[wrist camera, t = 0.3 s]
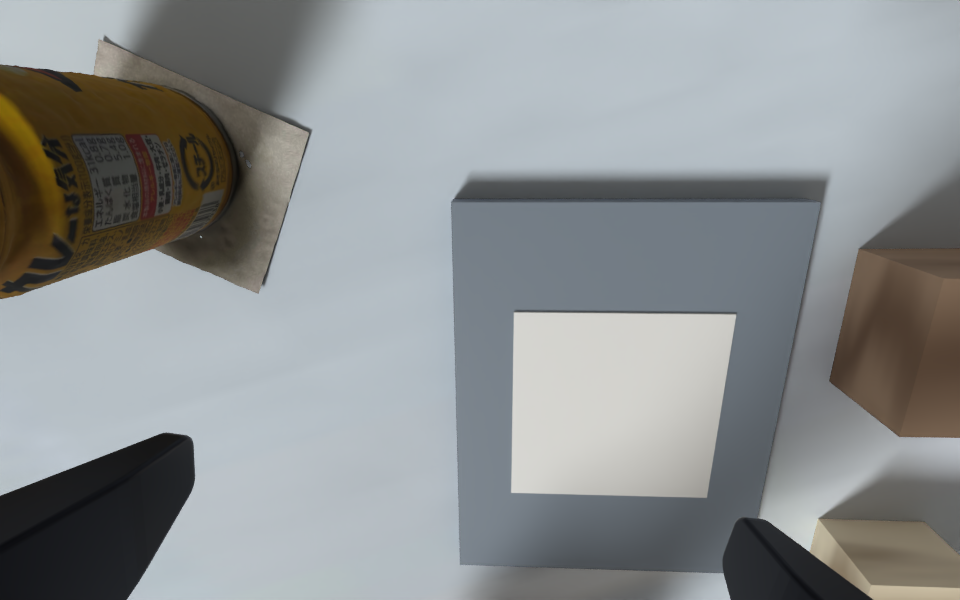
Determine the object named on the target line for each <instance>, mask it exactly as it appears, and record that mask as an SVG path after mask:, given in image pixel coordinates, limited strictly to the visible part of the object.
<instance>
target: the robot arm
mask: <svg viewBox="0 0 960 600" xmlns="http://www.w3.org/2000/svg"><path fill="white" fill-rule="evenodd" d="M194 481H195V466H194V446H193V441H192V439H191V438H190V437H189V436H187V435H181V434H174V433H162V434H159V435H157V436H154V437H151V438H149V439H146V440H144V441H141V442H138V443H136V444H133V445H131V446H128V447H126V448H123V449H120V450H118V451H115V452H113V453H110V454H107V455H105V456H102V457H100V458H97V459H94V460H92V461H89V462H87V463H84V464H82V465H79V466H76V467H74V468H71V469H69V470H66V471H63V472H61V473H58V474H56V475H53V476H50V477H48V478H45V479H43V480H40V481H38V482H35V483H32V484H30V485H27V486H25V487H22V488H19V489H17V490H14V491H12V492H9V493H7V494H4V495H1V496H0V600H127V598H128V597H129V595H130V594H131V593H132V591H133V590H134V588H135V587H136V585H137V584H138V582H139V581H140V579H141V578H142V576H143V574H144V573H145V571H146V569H147V568H148V566H149V564H150V563H151V561H152V559H153V557H154V556H155V554H156V552H157V551H158V549H159V547H160V545H161V544H162V542H163V540H164V538H165V537H166V535H167V533H168V532H169V530H170V528H171V526H172V525H173V523H174V521H175V519H176V518H177V516H178V514H179V513H180V511H181V509H182V507H183V506H184V504H185V502H186V500H187V499H188V497H189V495H190V493H191V491H192V489H193V486H194ZM722 566H723V573H724V576H725V580H726V584H727V588H728V591H729V595H730V599H731V600H873V599H872V598H871V597H869V596H868V595H867V594H865V593H864V592H863V591H861V590H860V589H858V588H857V587H856V586H854V585H853V584H852V583H850V582H849V581H848V580H846V579H845V578H844V577H842V576H841V575H840V574H838V573H837V572H836V571H834V570H833V569H831V568H830V567H829V566H827V565H826V564H825V563H823V562H822V561H821V560H819V559H818V558H817V557H815V556H814V555H813V554H811V553H810V552H809V551H807V550H806V549H805V548H803V547H802V546H800V545H799V544H798V543H796V542H795V541H794V540H792V539H791V538H790V537H788V536H787V535H786V534H784V533H783V532H782V531H780V530H779V529H778V528H776V527H775V526H773V525H772V524H771V523H769V522H768V521H766V520H763V519H757V518H750V517H740V518H738V519H737V520H736V522H735V524H734V526H733V529H732V532H731V535H730V537H729V540H728V543H727V545H726V548H725V551H724V554H723V559H722Z"/></svg>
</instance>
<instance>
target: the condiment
mask: <svg viewBox="0 0 960 600" xmlns="http://www.w3.org/2000/svg"><path fill="white" fill-rule="evenodd" d="M308 136H309V132H306V131H304V130H302V129H300V128H298V127H295V126H293V125H290V124H288V123H286V122H284V121H282V120H280V119H277V118H275V117H273V116H271V115H268V114H266V113H263V112H261V111H259V110H257V109H255V108H252V107H250V106H248V105H246V104H244V103H241V102H239V101H236V100H234V99H232V98H230V97H228V96H226V95H223V94H221V93H219V92H217V91H215V90H212V89H210V88H208V87H206V86H204V85H202V84H199V83H197V82H195V81H193V80H191V79H188V78H186V77H184V76H181V75H179V74H177V73H175V72H172V71H170V70H168V69H166V68H163V67H161V66H159V65H157V64H155V63H152V62H150V61H148V60H146V59H143V58H141V57H139V56H136V55H134V54H132V53H130V52H128V51H125V50H123V49H121V48H119V47H116V46H114V45H112V44H109V43H107V42H104V41H102V40H100V39H99V41H98V51H97V54H96V61H95V67H94V75H88V74H82V73H73V72H57V71H53V70H49V69H34V68H28V67H19V66H16V65H15V66H9V65H0V299H4V298H9V297H14V296H19V295H22V294H24V293H26V292H29V291H32V290H34V289H38V288H41V287H43V286H46V285H50V284H52V283H55V282H58V281H61V280H63V279H66V278H69V277H72V276H75V275H78V274H81V273H84V272H87V271H90V270H93V269H96V268H99V267H101V266H104V265H107V264H110V263H113V262H116V261H119V260H122V259H125V258H128V257H130V256H133V255H136V254H139V253H142V252H145V251H148V250H151V249H156V250H158V251H160V252H162V253H164V254H166V255H168V256H172V257H173V258H175V259H177V260H179V261H181V262H183V263H186V264H189V265H192V266H195V267H197V268H199V269H201V270H203V271H207V272H209V273H212V274H214V275H216V276H219V277H221V278H224V279H225V280H227V281H229V282H232V283H234V284H235V285H238V286H240V287H243V288H246V289H248V290H251V291H253V292H256V293H259V290H260V288H261V285H262V282H263V278H264V276H265V274H266V271H267V268H268V264H269V261H270V258H271V255H272V252H273V249H274V245H275V243H276V240H277V237H278V234H279V230H280V228H281V224H282V221H283V218H284V214H285V211H286V208H287V206H288V203H289V201H290V195H291V191H292V188H293V185H294V181H295V178H296V175H297V173H298V170H299V166H300V163H301V159H302V155H303V152H304V149H305V145H306V142H307V139H308ZM240 151H242V152H243V153H244V157H241V156H240V153H239V152H240ZM245 160H248V161H249V162H250V163H251V168H249V167H248V166H247V164H246V161H245ZM200 236H202V238H200Z"/></svg>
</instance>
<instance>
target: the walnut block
mask: <svg viewBox="0 0 960 600" xmlns="http://www.w3.org/2000/svg"><path fill="white" fill-rule="evenodd" d="M829 382H831V383H832V384H833V385H835V386H836V387H837V388H838V389H840V390H841V391H842V392H843V393H845V394H846V395H847V396H848V397H850V398H851V399H852V400H853V401H855V402H856V403H857V404H859V405H860V406H861V407H862V408H864V409H865V410H866V411H867V412H869V413H870V414H871V415H872V416H874V417H875V418H876V419H877V420H879V421H880V422H881V423H883V424H884V425H885V426H886V427H888V428H889V429H890V430H891V431H893V432H894V433H895V434H896V435H898V436H899V437H949V438H960V248H950V249H859V250H858V255H857V259H856V264H855V268H854V273H853V277H852V282H851V286H850V290H849V295H848V299H847V304H846V308H845V313H844V317H843V322H842V326H841V331H840V335H839V340H838V344H837V349H836V353H835V358H834V362H833V367H832V371H831V376H830V380H829Z"/></svg>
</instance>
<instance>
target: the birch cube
mask: <svg viewBox="0 0 960 600" xmlns="http://www.w3.org/2000/svg"><path fill="white" fill-rule="evenodd" d="M810 553H811V554H813V555H814V556H815V557H817V558H818V559H819V560H821V561H822V562H823V563H825V564H826V565H827V566H829V567H830V568H831V569H833V570H834V571H836V572H837V573H838V574H840V575H841V576H842V577H844V578H845V579H846V580H848V581H849V582H850V583H852V584H853V585H854V586H856V587H857V588H858V589H860V590H861V591H863V592H864V593H865V594H867V595H868V596H869V597H871V598H872V599H873V600H960V555H959V554H958V553H957V552H956V551H955V550H954V549H953V548H952V547H950V546H949V545H948V544H947V543H946V542H945V541H944V540H943V539H942V538H941V537H940V536H939V535H938V534H937V533H936V532H935V531H934V530H932V529H931V528H930V527H929V526H928V525H927V524H926V523H925V522H914V521H880V520H846V519H818V521H817V525H816V529H815V533H814V537H813V541H812V545H811V549H810Z"/></svg>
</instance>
